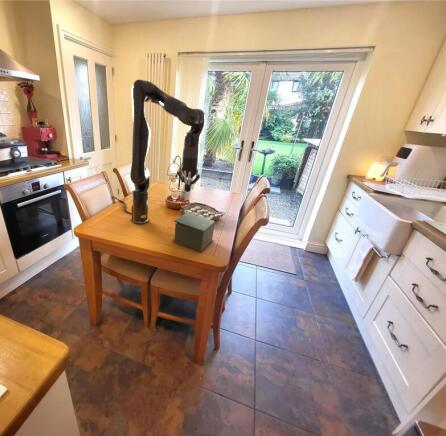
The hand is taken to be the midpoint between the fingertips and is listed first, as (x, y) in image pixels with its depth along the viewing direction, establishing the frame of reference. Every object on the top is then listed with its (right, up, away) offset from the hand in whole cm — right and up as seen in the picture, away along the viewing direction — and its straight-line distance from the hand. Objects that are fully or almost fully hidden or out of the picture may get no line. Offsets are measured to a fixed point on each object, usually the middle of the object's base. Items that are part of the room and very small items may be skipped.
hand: (187, 191), depth 116 cm
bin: (+4, -26, +8) cm, 27 cm away
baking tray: (+13, -12, +39) cm, 43 cm away
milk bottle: (+4, -3, +57) cm, 57 cm away
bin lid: (+4, -15, +4) cm, 16 cm away
